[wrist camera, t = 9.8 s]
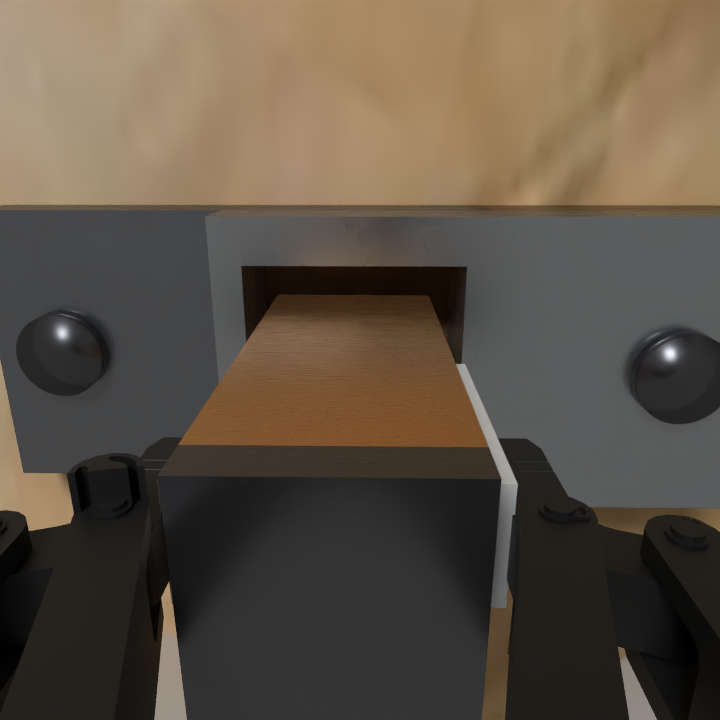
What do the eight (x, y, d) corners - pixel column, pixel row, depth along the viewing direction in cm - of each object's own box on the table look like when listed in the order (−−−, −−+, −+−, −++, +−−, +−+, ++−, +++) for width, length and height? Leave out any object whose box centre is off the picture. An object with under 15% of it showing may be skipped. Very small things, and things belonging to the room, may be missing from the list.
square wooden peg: (277, 294, 20) (156, 475, 9) (428, 295, 20) (501, 479, 9) (284, 431, 22) (188, 732, 10) (423, 432, 22) (479, 737, 10)
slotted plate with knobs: (4, 205, 22) (-86, 218, 18) (718, 205, 22) (804, 219, 17) (49, 448, 26) (-17, 509, 21) (672, 454, 25) (734, 518, 21)
